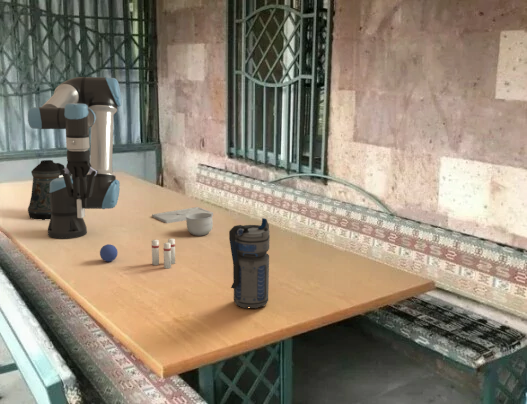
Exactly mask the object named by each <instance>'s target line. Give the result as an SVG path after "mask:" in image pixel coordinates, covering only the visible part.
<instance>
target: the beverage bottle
mask: <svg viewBox="0 0 527 404" xmlns="http://www.w3.org/2000/svg"><path fill="white" fill-rule="evenodd" d="M228 232H229V234H228V235H229V236H228V238H229V244H230V245H229V246H230V252H231V253H230V254H231V258H232V265H233V266H232V268H233V269H232V270H233V273H232V275H233V283H232V285H231V287H230V288H231V289H233V302H234V304H235V305H236V306H237V307H239V306H240V308H243V309H247V308H248V307H250V308H255V309H259V308H258V307H260V308H263V307H264V305H265V306H266V305H267V303H268V302H269V292H270V291H269V289H270V288H269V287H270V285H269V283H270V281H269V280H270V275H269V274H270V255H269V253H268V251H269V250H270V241H271V239H270V238H271V237H270V236H271V234H270V224H269V222H268V219H267V218H264V217H262V218H261V225H259V224H244V225H243V224H238V225H237V224H236V225H234V226H233V227H232V228H231V229H230V230H229V231H228ZM262 306H263V307H262Z"/></svg>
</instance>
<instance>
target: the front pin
mask: <svg viewBox="0 0 527 404" xmlns="http://www.w3.org/2000/svg"><path fill="white" fill-rule="evenodd" d="M151 264H152V266H159V265H160V240H159V239H152V240H151Z"/></svg>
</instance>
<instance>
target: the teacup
mask: <svg viewBox="0 0 527 404" xmlns="http://www.w3.org/2000/svg"><path fill="white" fill-rule="evenodd" d="M185 221H186V229H187V231H188V233H190V234H191V235H193V236H199V237H200V236H206V235H208V234H209V233H210V232H211V231H212V230H213V225H214V223H213V216H212V214H210V213H203V212H199V213H192V214H189V215H187V216H186V220H185Z"/></svg>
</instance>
